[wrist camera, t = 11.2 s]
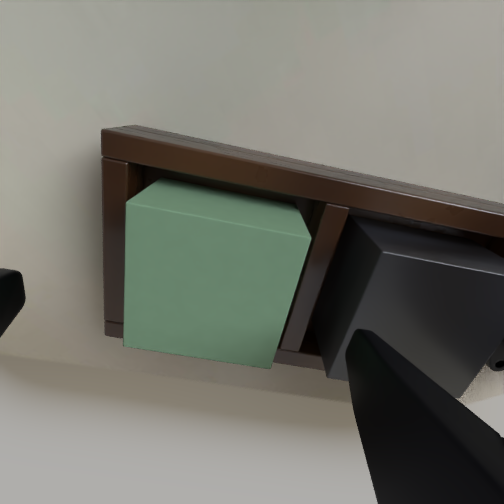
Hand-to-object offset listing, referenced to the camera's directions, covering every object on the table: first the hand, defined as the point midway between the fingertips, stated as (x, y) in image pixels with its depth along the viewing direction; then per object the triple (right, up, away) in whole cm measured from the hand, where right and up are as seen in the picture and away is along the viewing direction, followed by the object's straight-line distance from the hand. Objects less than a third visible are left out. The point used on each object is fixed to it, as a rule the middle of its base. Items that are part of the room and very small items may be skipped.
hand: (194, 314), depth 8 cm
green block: (0, +2, +4) cm, 4 cm away
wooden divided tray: (+4, +2, +5) cm, 7 cm away
